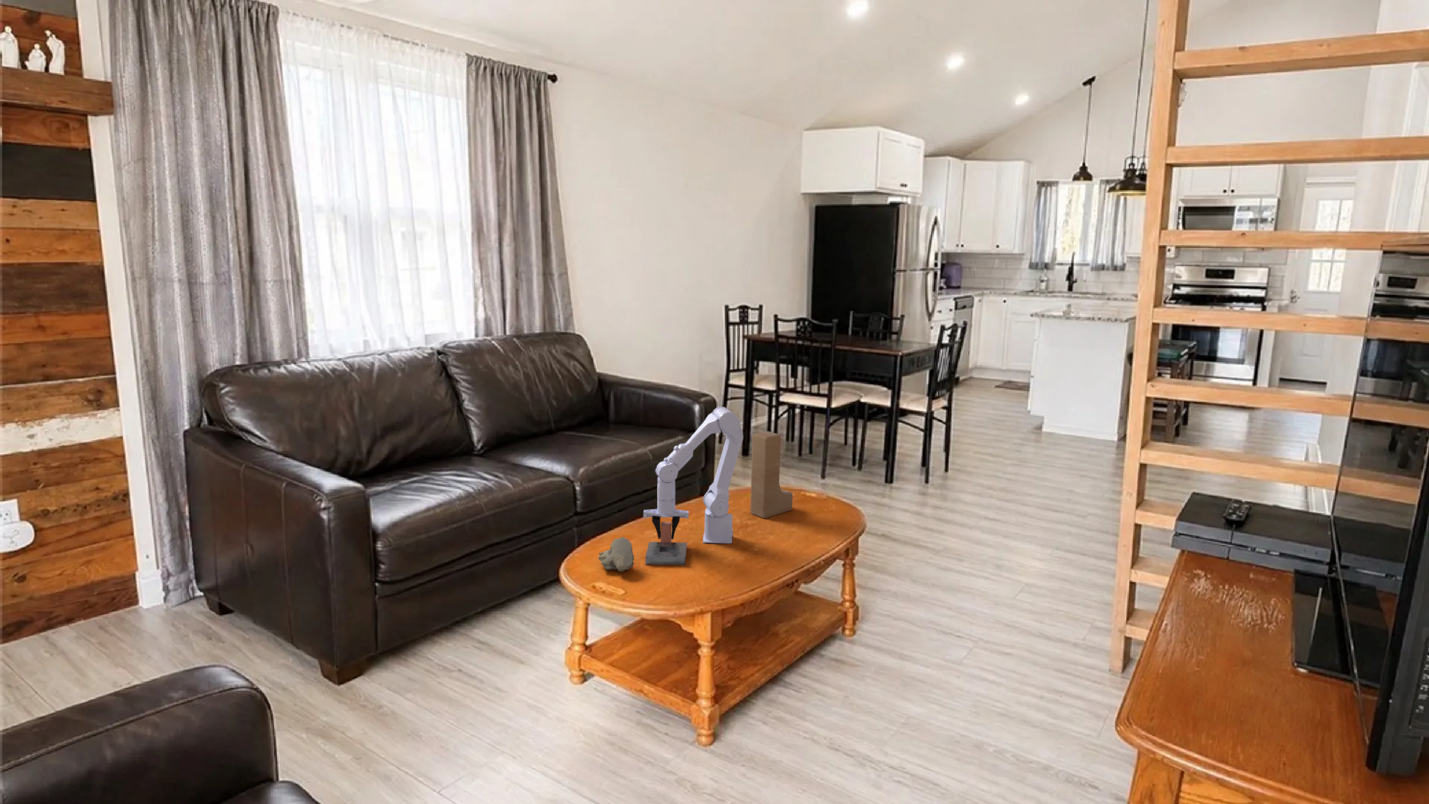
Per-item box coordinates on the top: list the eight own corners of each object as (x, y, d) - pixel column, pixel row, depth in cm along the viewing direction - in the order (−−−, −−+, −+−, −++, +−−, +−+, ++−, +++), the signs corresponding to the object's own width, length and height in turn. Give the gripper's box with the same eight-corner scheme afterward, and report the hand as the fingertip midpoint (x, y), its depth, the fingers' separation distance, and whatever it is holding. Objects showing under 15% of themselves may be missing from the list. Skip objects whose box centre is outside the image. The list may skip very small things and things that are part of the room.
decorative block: (792, 510, 299) (795, 431, 293) (764, 519, 289) (766, 437, 283) (778, 505, 305) (780, 427, 299) (749, 513, 295) (751, 433, 289)
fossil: (624, 571, 252) (594, 561, 250) (636, 539, 253) (606, 529, 250) (631, 583, 238) (599, 572, 236) (644, 549, 239) (612, 538, 237)
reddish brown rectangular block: (671, 542, 267) (671, 521, 265) (670, 545, 264) (670, 525, 262) (661, 541, 267) (661, 521, 265) (660, 545, 264) (660, 525, 262)
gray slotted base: (686, 550, 260) (686, 542, 260) (684, 565, 249) (684, 557, 248) (649, 549, 260) (649, 541, 260) (645, 564, 249) (645, 556, 248)
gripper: (642, 501, 258) (642, 542, 261) (688, 502, 258) (687, 543, 261) (644, 494, 265) (644, 534, 268) (689, 495, 265) (688, 535, 268)
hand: (666, 538), depth 265 cm, fingers open, 4 cm apart
